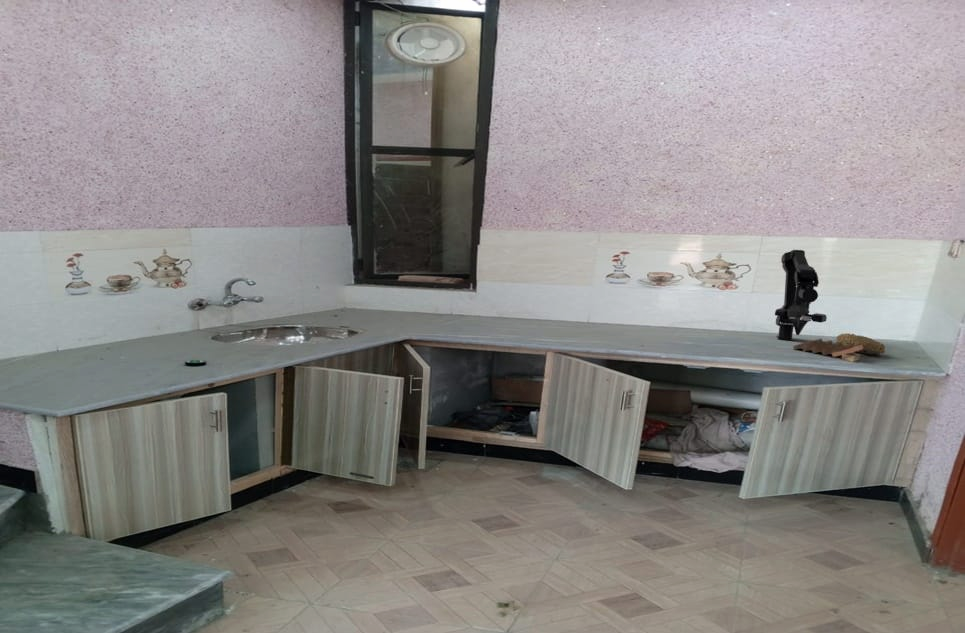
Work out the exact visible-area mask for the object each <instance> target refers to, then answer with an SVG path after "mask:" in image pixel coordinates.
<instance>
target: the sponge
mask: <svg viewBox="0 0 965 633" xmlns="http://www.w3.org/2000/svg"><path fill="white" fill-rule="evenodd" d="M835 340H836V341H835V342H836V343H839V342H842V344H843V345H847V344H851V343H852V345H853V347H855V346H859V345H862V346H863V348H864V349H862V350H859V351H855V352H854V353H858V354H865V355H883V354H884V353H885V352H886V350H885V349H886V347H885V345H884V344H883V343H881V342H880V341H877V340H875V339H873V338H871V337H867V336H864V335H860V334H859V335H856V334H854V333H840V334H839V335H837V337H836V338H835Z"/></svg>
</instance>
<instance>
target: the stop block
mask: <svg viewBox="0 0 965 633" xmlns="http://www.w3.org/2000/svg"><path fill="white" fill-rule="evenodd" d="M860 357H861V353H858V352H851V353H847V354H843V355H841V361H845V362H852V363H854V362H856V361H858V360H860V359H861V358H860Z"/></svg>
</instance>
